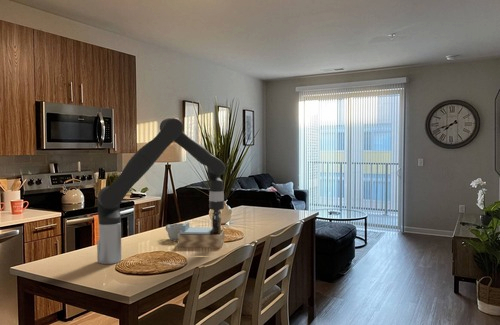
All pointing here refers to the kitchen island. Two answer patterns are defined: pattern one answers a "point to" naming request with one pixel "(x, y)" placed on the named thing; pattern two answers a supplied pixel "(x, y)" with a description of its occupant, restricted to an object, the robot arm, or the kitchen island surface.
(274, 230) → the kitchen island surface
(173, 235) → the teacup
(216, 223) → the brown rectangular block
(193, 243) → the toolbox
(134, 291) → the kitchen island surface
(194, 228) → the lid
